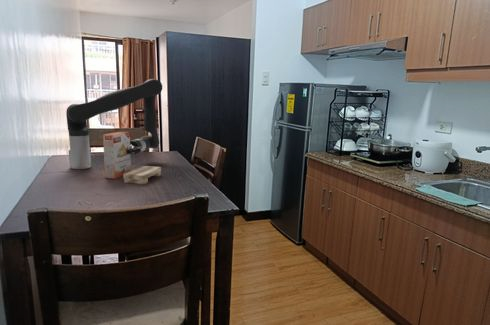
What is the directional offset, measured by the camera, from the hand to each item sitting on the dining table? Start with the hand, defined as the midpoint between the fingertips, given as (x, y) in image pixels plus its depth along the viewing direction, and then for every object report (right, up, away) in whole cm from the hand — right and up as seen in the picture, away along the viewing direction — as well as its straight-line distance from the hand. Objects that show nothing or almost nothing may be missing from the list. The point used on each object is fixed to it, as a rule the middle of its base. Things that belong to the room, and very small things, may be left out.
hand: (119, 151), depth 158 cm
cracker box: (-1, -12, +1) cm, 12 cm away
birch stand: (+13, -13, -3) cm, 18 cm away
